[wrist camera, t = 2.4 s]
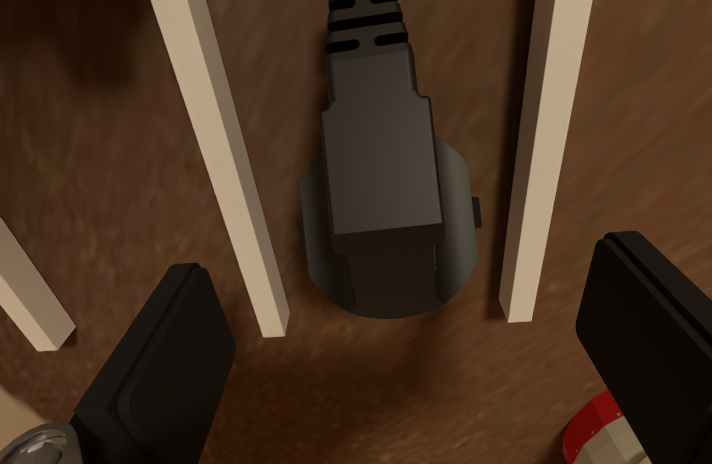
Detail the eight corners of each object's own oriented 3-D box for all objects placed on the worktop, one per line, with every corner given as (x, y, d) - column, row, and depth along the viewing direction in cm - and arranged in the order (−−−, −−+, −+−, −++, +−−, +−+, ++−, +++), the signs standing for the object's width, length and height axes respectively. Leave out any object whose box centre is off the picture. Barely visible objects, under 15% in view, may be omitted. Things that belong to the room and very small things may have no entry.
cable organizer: (-254, -100, 11) (-513, -127, 8) (605, -230, 10) (732, -330, 6) (57, 327, 21) (-2, 398, 17) (520, 297, 19) (553, 368, 16)
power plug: (462, -181, 10) (523, 325, 9) (431, 5, 17) (464, 288, 17) (233, -137, 10) (280, 346, 10) (301, 25, 18) (329, 301, 17)
